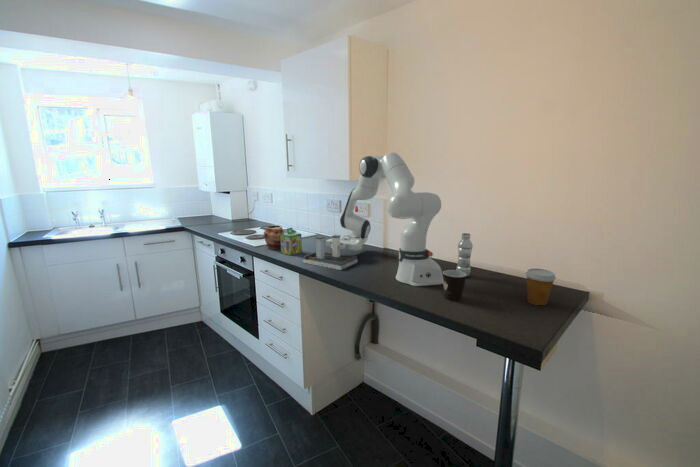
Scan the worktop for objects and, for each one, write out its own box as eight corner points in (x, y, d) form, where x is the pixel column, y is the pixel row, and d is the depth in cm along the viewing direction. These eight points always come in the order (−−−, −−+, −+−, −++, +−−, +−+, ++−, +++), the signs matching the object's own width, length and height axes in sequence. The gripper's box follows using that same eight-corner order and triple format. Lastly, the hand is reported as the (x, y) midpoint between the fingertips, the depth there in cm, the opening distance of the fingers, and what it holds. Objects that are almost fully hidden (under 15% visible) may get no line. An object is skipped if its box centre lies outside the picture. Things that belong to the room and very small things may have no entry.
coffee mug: (466, 303, 118) (468, 277, 116) (442, 301, 120) (443, 276, 118) (461, 291, 129) (463, 268, 127) (439, 290, 131) (441, 266, 129)
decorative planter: (258, 246, 203) (256, 225, 200) (274, 243, 211) (273, 222, 208) (273, 252, 189) (272, 229, 186) (291, 248, 197) (290, 226, 194)
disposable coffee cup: (554, 302, 119) (558, 271, 117) (548, 310, 112) (553, 278, 110) (526, 295, 126) (529, 266, 123) (519, 302, 119) (523, 272, 116)
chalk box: (291, 255, 182) (290, 230, 179) (280, 253, 187) (279, 228, 184) (302, 252, 189) (301, 227, 186) (291, 250, 194) (290, 226, 191)
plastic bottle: (469, 274, 150) (473, 233, 146) (470, 278, 144) (474, 236, 140) (455, 272, 152) (458, 232, 148) (456, 277, 146) (459, 235, 142)
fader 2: (340, 256, 171) (340, 235, 169) (337, 258, 168) (336, 236, 166) (335, 255, 173) (335, 234, 170) (331, 257, 170) (331, 235, 168)
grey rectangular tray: (357, 262, 169) (357, 255, 168) (340, 270, 156) (340, 263, 155) (321, 255, 182) (321, 249, 181) (303, 262, 168) (303, 256, 168)
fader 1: (324, 258, 168) (324, 236, 166) (321, 260, 165) (320, 237, 163) (319, 257, 170) (319, 236, 167) (315, 259, 167) (315, 237, 165)
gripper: (334, 234, 185) (319, 239, 173) (364, 238, 174) (351, 243, 163) (334, 245, 186) (319, 250, 175) (364, 249, 176) (351, 255, 164)
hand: (335, 247), depth 169 cm, fingers closed on fader 2, 3 cm apart
